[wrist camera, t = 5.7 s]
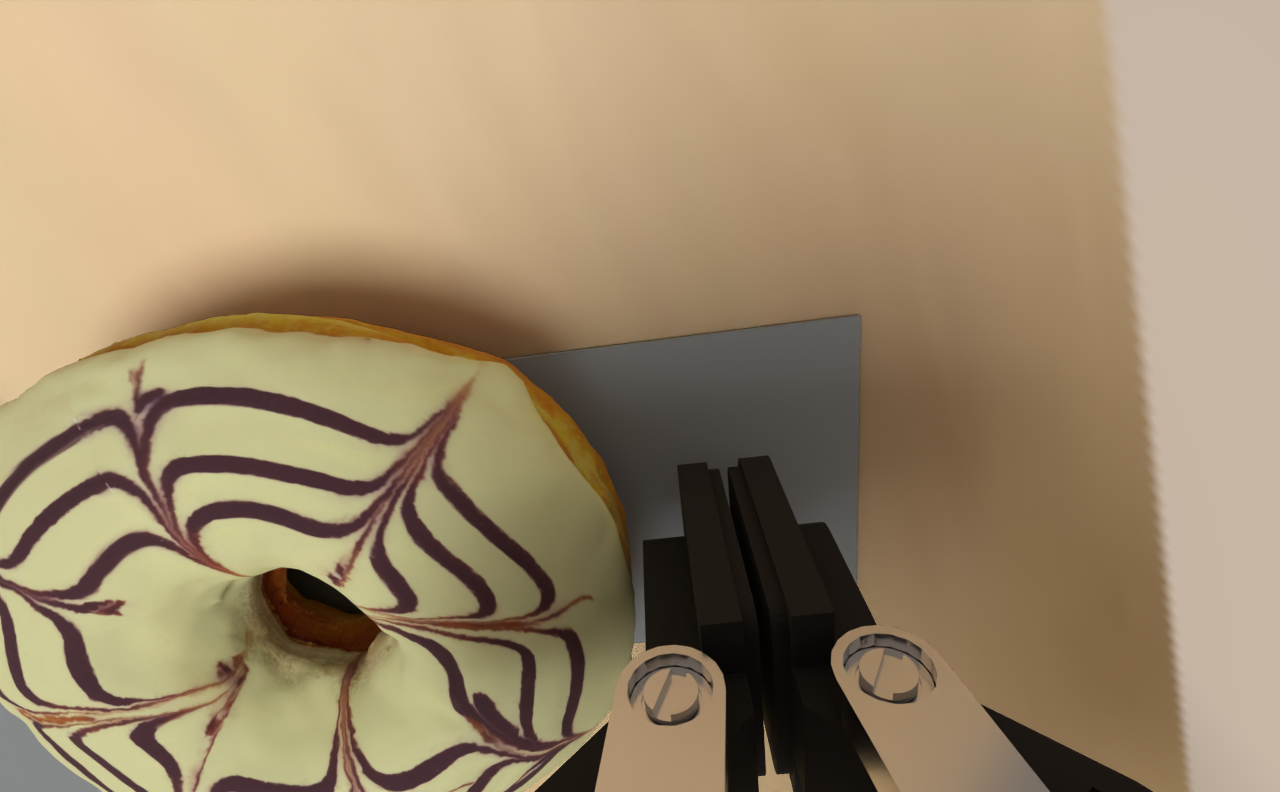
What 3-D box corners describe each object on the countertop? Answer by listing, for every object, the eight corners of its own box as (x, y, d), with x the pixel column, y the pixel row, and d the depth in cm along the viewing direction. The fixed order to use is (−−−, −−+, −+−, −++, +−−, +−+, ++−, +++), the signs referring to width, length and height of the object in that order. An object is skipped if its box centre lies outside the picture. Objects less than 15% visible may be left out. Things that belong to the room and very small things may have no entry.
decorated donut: (682, 671, 14) (699, 844, 11) (251, 753, 15) (141, 939, 12) (552, 219, 10) (515, 269, 7) (-28, 365, 11) (-324, 475, 8)
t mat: (864, -96, 9) (866, -99, 9) (852, 793, 16) (853, 797, 16) (-1045, 188, 10) (-1060, 188, 10) (-230, 898, 17) (-234, 902, 17)
